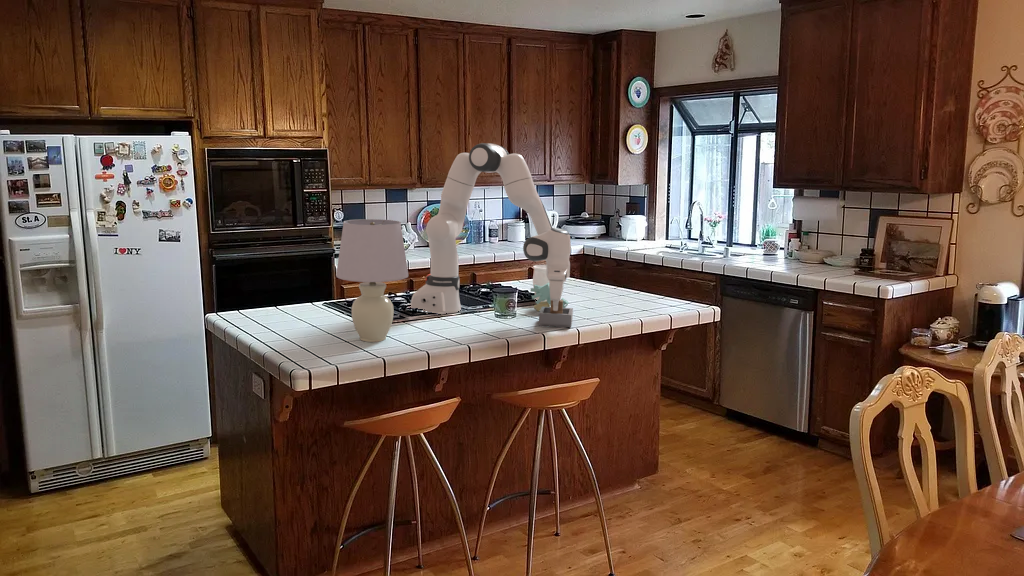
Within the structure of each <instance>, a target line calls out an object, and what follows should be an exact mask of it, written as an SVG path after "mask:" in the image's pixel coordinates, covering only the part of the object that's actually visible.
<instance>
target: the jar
mask: <svg viewBox="0 0 1024 576" xmlns="http://www.w3.org/2000/svg"><path fill="white" fill-rule="evenodd" d="M532 268H533V269H534V271H533V276H532V288H534V285H538V286H543V285H545V284H547V283H549V280H548V277H547V276H546V264H535V265H533V267H532ZM533 293H534V295H536V292H533ZM539 297H540V296H539ZM539 297H537V298H535V299H536V300H538V299H539ZM535 299H534V300H535ZM536 300H535V301H536ZM545 301H547V300H544V301H541V302H545Z"/></svg>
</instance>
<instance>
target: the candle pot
mask: <svg viewBox="0 0 1024 576" xmlns="http://www.w3.org/2000/svg"><path fill="white" fill-rule="evenodd" d="M550 308H551V306H550V307H542V308H541V310H540V311H539V314H538V327H542V326H556V327H555V328H560V327H571V328H572V325H573V316H574V314H573V313H574V308H572V307H566V308H563V314H557V313H550Z"/></svg>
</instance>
